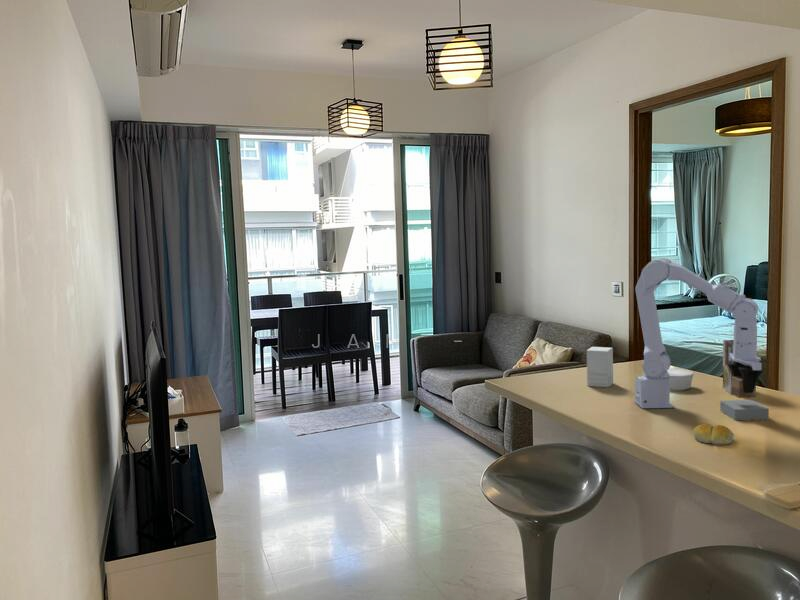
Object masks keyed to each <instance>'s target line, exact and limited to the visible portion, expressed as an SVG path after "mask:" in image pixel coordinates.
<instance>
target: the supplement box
mask: <svg viewBox="0 0 800 600" xmlns="http://www.w3.org/2000/svg"><path fill="white" fill-rule="evenodd" d="M585 351H586V379H587V380H586V384H587V387H599V388H610V386H612V385H613V384H614V358H613V357H614V356H613V355H614V354H613V352H614V348H613V347H606V346H605V347H603V346H591V347H589V348H588V349H587V350H585Z"/></svg>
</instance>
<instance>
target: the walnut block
mask: <svg viewBox="0 0 800 600" xmlns="http://www.w3.org/2000/svg"><path fill="white" fill-rule="evenodd" d="M756 390H757V384H756V385H755V388H754V391H753V393H745V392H744V389H743V380H742V376H738V377H732V394H731V395H733V396H735V397H737V398H738V399H750V398H757V394H756V393H757V391H756Z"/></svg>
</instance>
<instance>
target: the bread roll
mask: <svg viewBox="0 0 800 600" xmlns="http://www.w3.org/2000/svg"><path fill="white" fill-rule="evenodd" d="M692 433H693V437H694V439H695V440H696V441H698V442H701V443H705V444H713V445H715V446H717V445H718V446H725V445H729V444H731V443H732V442H733V441H734V436H735V435H734V432H733V431H732V430H731V428H728V427H727V426H725V425H722V424H718V425H715V426H714V425H712V424H709V423H702V424H699V425H696V427H695V428H694V429H693V432H692Z"/></svg>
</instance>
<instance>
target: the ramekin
mask: <svg viewBox="0 0 800 600" xmlns="http://www.w3.org/2000/svg"><path fill="white" fill-rule="evenodd" d="M667 371H668V373H669V375H670V391H687V390H689V389H691V387H692V382H693V377H694V372H693V371H692V370H688V369H683V368H669V369H668V370H667ZM686 389H687V390H686Z"/></svg>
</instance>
